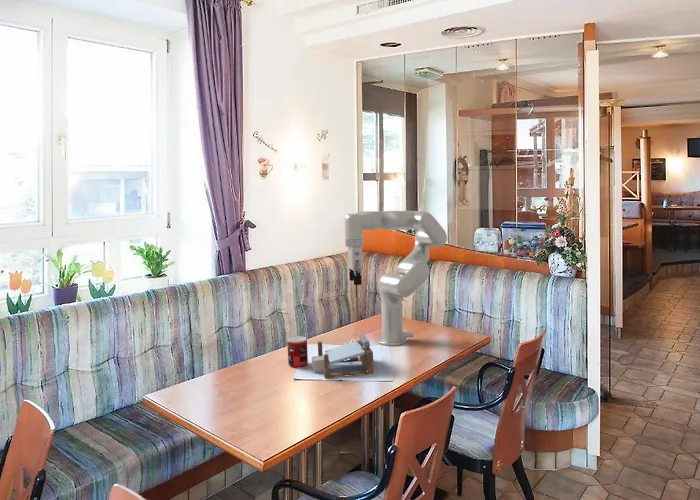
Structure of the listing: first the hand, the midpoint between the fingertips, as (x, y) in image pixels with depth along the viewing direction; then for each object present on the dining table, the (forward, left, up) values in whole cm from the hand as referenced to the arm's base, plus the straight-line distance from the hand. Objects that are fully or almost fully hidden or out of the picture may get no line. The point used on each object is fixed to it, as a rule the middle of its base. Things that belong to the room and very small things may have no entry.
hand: (355, 282), depth 249 cm
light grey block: (+16, +20, -28) cm, 38 cm away
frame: (+9, +20, -30) cm, 37 cm away
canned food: (+27, +11, -31) cm, 42 cm away
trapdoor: (+8, +20, -24) cm, 32 cm away
